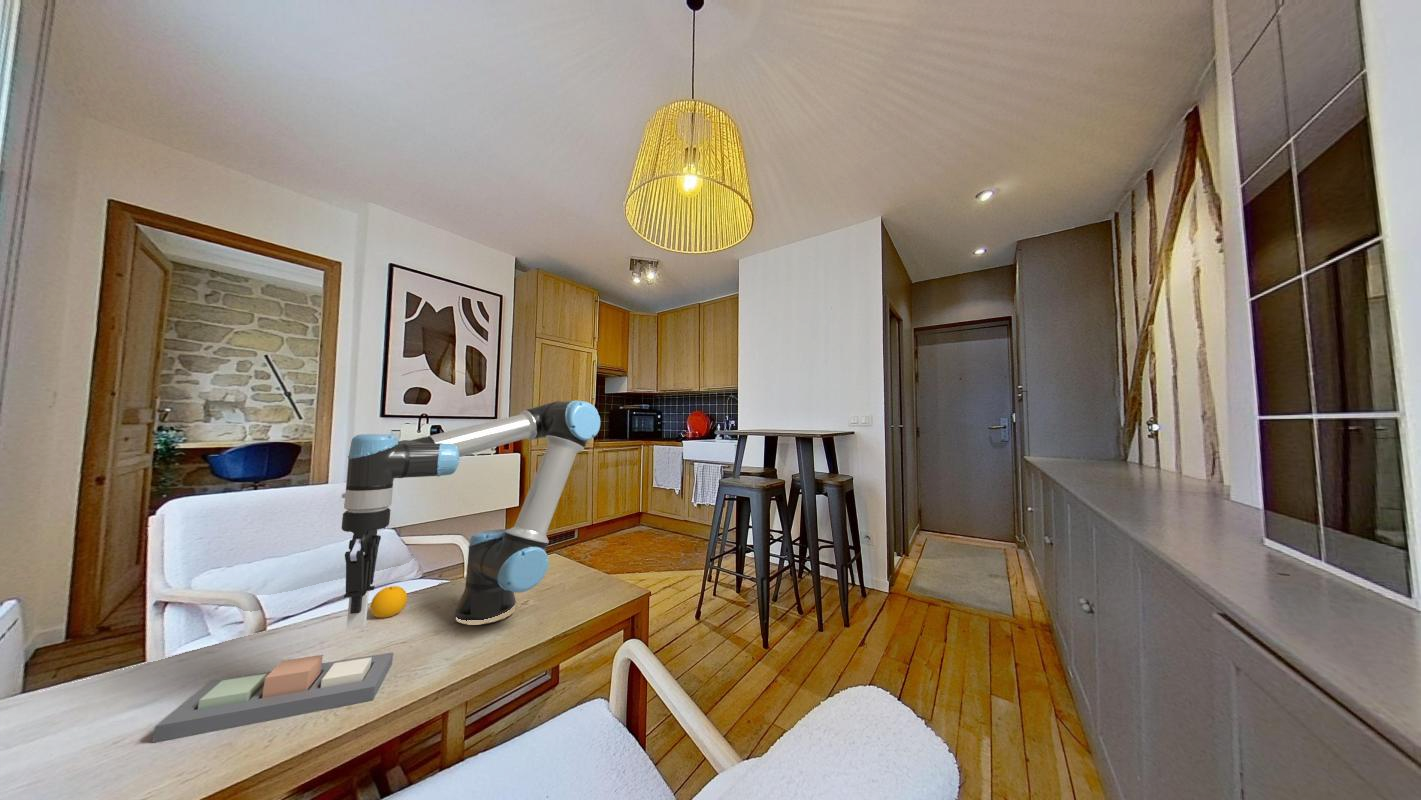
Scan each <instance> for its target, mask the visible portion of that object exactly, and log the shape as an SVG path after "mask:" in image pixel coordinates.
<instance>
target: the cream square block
mask: <svg viewBox="0 0 1421 800" xmlns="http://www.w3.org/2000/svg"><path fill="white" fill-rule="evenodd" d="M371 659H372V657H371V658H364V659H358V660H351V661H345V662H338V663H334V664H333V666H332V667H331V668H330V670H329V671H328V672H327V673H326V675H325V676H324V677H323V679H322V681H321V688H323V687H329V686H335V685H340V684H346V683H352V682H358V681H363V680H364V679H365V677H366V675H367V674H368V672H369V670H370V668H371Z"/></svg>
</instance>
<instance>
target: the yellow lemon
mask: <svg viewBox="0 0 1421 800" xmlns="http://www.w3.org/2000/svg"><path fill="white" fill-rule="evenodd" d="M407 602H408V593H407V592H406V590H405V589H404V588H403V587H401V586H398V585H397V586H396V585H392V586H386V587H385V588H382V589H381V590H379V591H378V592H377V593H376V594H375V595H374V597H373V598H372V599H371V603H370V611H371V613H372V615H373V616H375V617H377V618H382V619H383V618H391V617H393V616H395V614H396V615H397V613H398V614H399V613H400V612H401V611H403V610H404V609H405V607H406V605H407Z"/></svg>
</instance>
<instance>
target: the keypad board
mask: <svg viewBox="0 0 1421 800" xmlns="http://www.w3.org/2000/svg"><path fill="white" fill-rule="evenodd" d="M371 657H372V659H371V668H370V670H369V672H368V674H367V675H366V677H365V679H364V680H363V681H358V682H352V683H346V684H340V685H335V686H329V687H323V688H321V681H322V679H323V677H324V676H325V675H326V673H327V672H328V671H329V670H330V668H331V667H332V666H333V664H334V663H338V662H345V661H351V660H358V659H364V658H371ZM393 659H394V652H385V653H380V654H374V655H368V656H360V657H359V656H358V657H355V658H354V657H353V658H348V659H340V660H336V661H328V662H322V665H321V673H320V674H319V676H318V677H317V678H316V679H315V681H314V682H313V683H312V684H311V686H310V687H309V688H308V689H307V690H306V691H300V692H295V693H289V694H283V695H277V696H272V697H266V698H262V695H263V689H264V686H263V687H262V688H261V689H260V690H259V691H258V692H257V693H256V694H255V695H254V696H253V697H252V698H251V699H250V700H249V701H243V702H237V703H232V704H226V705H220V706H214V707H209V708H203V709H198V705H199V700H200V699H201V698H202V697H204V696H205V695H206V694H207V693H208V692H209V691H211V690H212V689H213V688H214V687H215V686H216V685H218V684H219V683H220V682H221V681H223V680H229V679H236V678H242V677H248V676H255V675H261V674H267V675H266V677H267V676H268V675H269V674H270V673H271V672H272V671H273V670H271V671H264V672H263V671H262V672H257V673H250V674H244V675H237V676H230V677H224V678H219V679H211V680H209V681H208V682H207V683H205V684H204V685H203V686H202V687H201V688H200V689H198V690H197V691H196V692H195V693H194V694H192V695H191V696H190V697H188V699H187V700H185V701H183V703H182V704H180V705H179V706H178V707H177V708H176V709H174V710H173V711H172V712H171V713H169V715H167V716H166V717H164V718H163V719H162V720H161V721H160V722H159V723H158V724H156V725H155V727H154V731H153V738H152V744H155V743H161V742H164V741H169V740H170V741H171V740H174V739H180V738H185V737H189V736H196V735H200V734H206V733H211V732H217V731H221V730H227V729H232V728H237V727H242V726H249V725H252V724H257V723H263V722H268V721H273V720H277V719H283V718H288V717H293V716H299V715H303V714H304V715H305V714H309V713H315V712H320V711H324V710H330V709H335V708H340V707H346V706H350V705H356V704H360V703H366V702H367V703H368V702H371V701H372V702H373V701H374V700H375V697H376V695H378V691H379V689H380V688H381V686H382V684H383V683H384V680H385V678H386V677H387V674H388V673H389V671H390V668H391V667H392V665H393Z"/></svg>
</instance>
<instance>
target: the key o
mask: <svg viewBox="0 0 1421 800" xmlns="http://www.w3.org/2000/svg"><path fill="white" fill-rule="evenodd" d="M266 675H267V674H261V675H255V676H248V677H242V678H236V679H229V680H223V681H221V682H220V683H219V684H218V685H216V686H215V687H214V688H213V689H212V690H211V691H209V692H208V693H207V694H206V695H205V696H204V697H202V698H201V699H200V700H199V705H198V709H203V708H209V707H214V706H220V705H226V704H232V703H237V702H243V701H249V700H250V699H251V698H252V697H253V696H254V695H255V694H256V693H257V692H258V691H259V690H260V689H261V688H262V687H263V686H264V682H265V678H266Z"/></svg>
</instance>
